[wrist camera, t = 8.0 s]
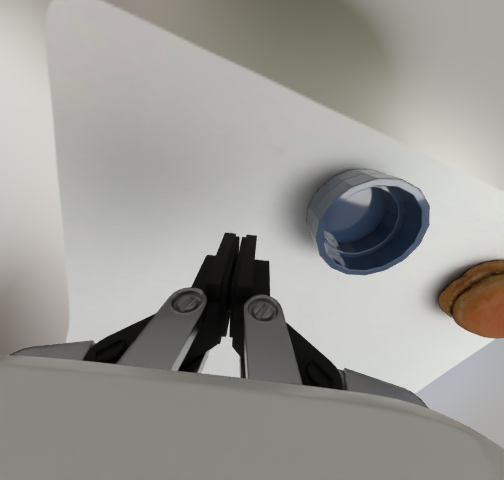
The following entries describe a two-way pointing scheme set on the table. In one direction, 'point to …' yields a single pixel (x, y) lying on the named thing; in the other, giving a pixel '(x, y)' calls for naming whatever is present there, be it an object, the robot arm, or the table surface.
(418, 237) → the bowl
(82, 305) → the table surface
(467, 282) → the burger
